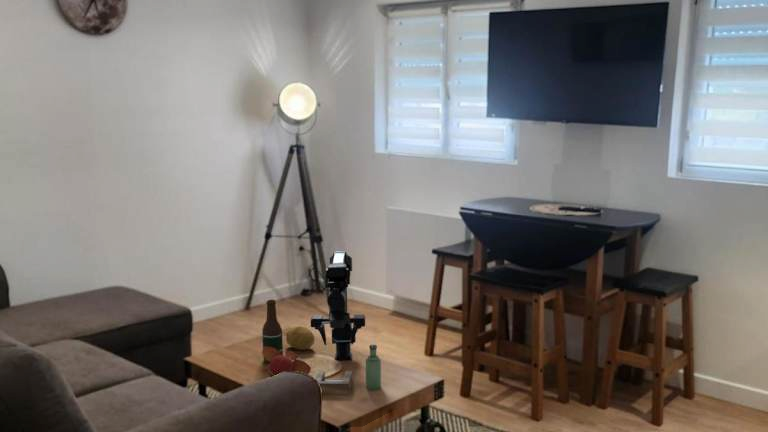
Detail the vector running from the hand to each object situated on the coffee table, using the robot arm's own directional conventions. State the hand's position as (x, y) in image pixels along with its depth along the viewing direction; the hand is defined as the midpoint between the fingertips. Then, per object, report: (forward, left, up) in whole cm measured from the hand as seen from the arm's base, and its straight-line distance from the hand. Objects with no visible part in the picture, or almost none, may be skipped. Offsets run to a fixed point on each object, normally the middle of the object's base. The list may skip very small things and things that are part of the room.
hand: (338, 344), depth 248 cm
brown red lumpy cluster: (-11, -20, -15) cm, 28 cm away
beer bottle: (-25, -27, -15) cm, 40 cm away
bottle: (+3, +12, -15) cm, 19 cm away
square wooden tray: (+3, -2, -15) cm, 15 cm away
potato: (-39, -18, -15) cm, 46 cm away
